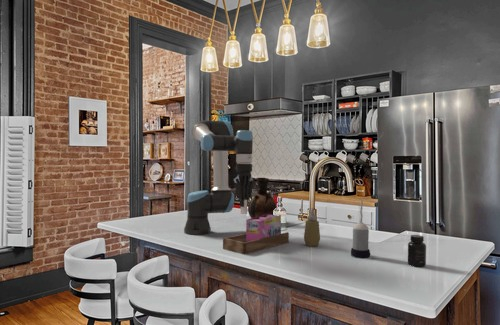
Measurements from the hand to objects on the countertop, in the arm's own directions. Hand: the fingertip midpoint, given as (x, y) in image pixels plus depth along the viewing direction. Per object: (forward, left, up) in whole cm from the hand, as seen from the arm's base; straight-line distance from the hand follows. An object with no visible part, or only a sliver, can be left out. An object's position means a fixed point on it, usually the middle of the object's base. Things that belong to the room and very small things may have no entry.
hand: (243, 213), depth 172 cm
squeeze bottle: (+19, +30, -17) cm, 39 cm away
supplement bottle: (+68, +32, -17) cm, 77 cm away
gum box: (0, +15, -17) cm, 23 cm away
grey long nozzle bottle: (+45, +29, -17) cm, 56 cm away
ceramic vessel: (-38, +59, -17) cm, 72 cm away
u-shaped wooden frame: (0, +10, -17) cm, 19 cm away
